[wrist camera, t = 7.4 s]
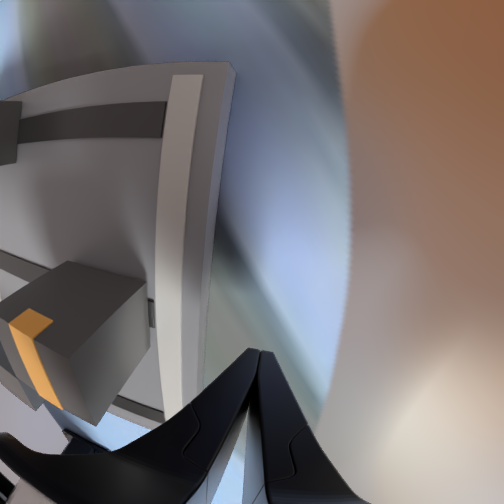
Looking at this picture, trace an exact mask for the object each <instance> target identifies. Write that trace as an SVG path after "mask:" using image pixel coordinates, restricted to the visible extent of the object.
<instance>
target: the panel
mask: <svg viewBox="0 0 504 504" xmlns="http://www.w3.org/2000/svg"><path fill="white" fill-rule="evenodd" d="M235 79H236V71H235V70H234V68H233V67H232V66H231V64H230V63H229V62H215V61H197V62H171V63H157V64H146V65H137V66H129V67H122V68H116V69H110V70H104V71H99V72H94V73H89V74H85V75H80V76H76V77H72V78H68V79H64V80H60V81H57V82H53V83H50V84H47V85H43V86H40V87H37V88H34V89H31V90H28V91H26V92H23V93H20V94H18V95H15V96H12V97H10V98H7V99H5V100H3V101H0V302H1V301H2V300H4V299H5V298H7V297H8V296H10V295H11V294H13V293H14V292H16V291H17V290H19V289H20V288H22V287H24V286H25V285H27V284H28V283H30V282H32V281H33V280H35V279H37V278H38V277H40V276H42V275H43V274H45V273H47V272H48V271H50V270H52V269H53V268H55V267H57V266H59V265H60V264H62V263H64V262H66V261H67V260H68V261H72V262H75V263H79V264H82V265H85V266H89V267H92V268H96V269H100V270H103V271H107V272H111V273H114V274H118V275H122V276H126V277H129V278H133V279H137V280H141V281H145V282H147V299H148V318H149V333H150V345H151V347H150V348H149V350H148V351H147V353H146V354H145V355H144V357H143V358H142V360H141V361H140V363H139V364H138V366H137V367H136V368H135V370H134V371H133V373H132V374H131V376H130V377H129V379H128V380H127V381H126V383H125V384H124V386H123V387H122V389H121V390H120V392H119V393H118V395H117V396H116V398H115V399H114V401H113V402H112V404H111V405H110V407H109V408H108V410H107V412H109V413H111V414H113V415H116V416H118V417H120V418H123V419H125V420H128V421H130V422H132V423H135V424H138V425H140V426H143V427H145V428H148V429H151V430H153V429H155V428H157V427H158V426H160V425H161V424H163V423H164V422H166V421H167V420H169V419H170V418H171V417H173V416H174V415H175V414H176V413H178V412H179V411H180V410H181V409H182V408H184V407H185V406H186V405H187V404H188V403H190V402H191V401H192V400H193V399H194V398H195V397H196V396H197V395H198V394H200V393H201V392H202V391H203V378H204V358H205V342H206V326H207V312H208V299H209V287H210V275H211V264H212V254H213V244H214V234H215V224H216V215H217V206H218V198H219V189H220V181H221V173H222V166H223V158H224V151H225V143H226V136H227V129H228V123H229V116H230V109H231V103H232V97H233V91H234V84H235ZM0 382H1V384H2V385H3V386H4V387H6V388H7V389H8V390H9V391H10V392H11V393H13V394H14V395H15V396H16V397H18V398H19V399H20V400H21V401H23V402H24V403H25V404H27V405H28V406H29V407H30V408H32V409H33V410H35V411H36V410H37V409H38V408H39V407H40V406H41V404H42V403H43V402H44V401H45V400H46V399H44V398H43V397H41V396H40V395H39V394H38V392H37V391H35V390H34V389H32V388H31V387H30V386H28V385H27V384H25V383H24V382H23V381H21V380H20V379H19V378H17V377H16V375H15V373H14V371H13V369H12V366H11V364H10V362H9V360H8V358H7V356H6V353H5V351H4V349H3V346H2V344H1V341H0Z"/></svg>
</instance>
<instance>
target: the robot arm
mask: <svg viewBox="0 0 504 504" xmlns="http://www.w3.org/2000/svg"><path fill="white" fill-rule="evenodd" d="M249 403H250V404H249ZM248 408H249V410H248ZM247 411H248V421H247V437H246V452H245V468H244V483H243V498H242V504H371V503H369V502H366V501H365V500H363V499H362V498H360V497H359V496H358V495H356V494H355V493H354V492H353V491H352V490H351V488H350V487H349V486H348V484H347V483H346V482H345V481H344V479H343V478H342V477H341V475H340V474H339V473H338V471H337V470H336V468H335V467H334V466H333V464H332V463H331V461H330V460H329V459H328V457H327V456H326V454H325V453H324V451H323V450H322V448H321V447H320V445H319V443H318V442H317V440H316V438H315V436H314V434H313V432H312V430H311V428H310V426H309V425H308V422H307V420H306V418H305V416H304V414H303V412H302V410H301V408H300V406H299V404H298V402H297V400H296V398H295V396H294V394H293V392H292V390H291V388H290V386H289V384H288V382H287V380H286V378H285V376H284V374H283V372H282V369H281V367H280V365H279V363H278V361H277V359H276V357H275V355H274V353H273V352H270V351H264V350H262V351H261V352H260V350H258V349H253V348H247V349H246V350H245V351H244V352H243V353H242V354H241V355H240V356H239V357H238V358H237V359H236V360H235V361H234V362H233V363H232V364H231V365H230V366H229V367H228V368H227V369H225V370H224V371H223V372H222V373H221V374H220V375H219V376H218V377H217V378H216V379H215V380H214V381H213V382H212V383H210V384H209V385H208V386H207V387H206V388H205V389H204V390H203V391H202V392H201V393H200V394H198V395H197V396H196V397H195V398H194V399H193V400H192V401H191V402H190V403H188V404H187V405H186V406H185V407H184V408H182V409H181V410H180V411H179V412H178V413H176V414H175V415H174V416H173V417H171V418H170V419H169V420H167V421H166V422H164V423H163V424H161V425H160V426H158V427H157V428H155V429H153V430H152V431H150V432H148V433H147V434H145V435H143V436H142V437H140V438H138V439H136V440H135V441H133V442H131V443H129V444H128V445H126V446H124V447H122V448H120V449H117V450H115V451H111V452H107V451H105V450H103V449H101V448H99V447H97V446H95V445H93V444H91V443H89V442H88V441H86V440H84V439H82V438H80V437H78V436H77V435H75V434H73V433H72V432H70V431H68V430H67V429H65V428H64V429H63V430H62V432H63V433H64V435H65V437H66V438H67V440H68V441H69V443H68V444H67V446H66V447H65V449H64V450H63V452H62V453H61V455H55V454H43V453H39V452H36V451H33V450H31V449H29V448H27V447H26V446H24V445H23V444H22V443H20V442H19V441H18V440H17V439H16V438H15V437H13V436H12V435H10V434H9V433H6V432H3V433H0V459H1V460H2V461H3V462H4V463H5V464H6V465H7V466H8V467H9V468H10V469H11V470H12V471H13V472H14V473H15V474H17V475H18V476H19V477H20V480H19V481H18V483H17V484H16V486H15V485H14V484H13V483H12V482H11V481H10V480H9V479H7V478H6V477H5V476H4V475H3V474H2V473H1V472H0V504H211V502H212V500H213V497H214V495H215V493H216V490H217V488H218V486H219V483H220V481H221V478H222V476H223V474H224V471H225V469H226V466H227V464H228V461H229V459H230V456H231V454H232V451H233V449H234V446H235V444H236V441H237V438H238V436H239V433H240V431H241V428H242V425H243V423H244V420H245V417H246V414H247Z"/></svg>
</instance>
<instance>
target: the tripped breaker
mask: <svg viewBox="0 0 504 504" xmlns="http://www.w3.org/2000/svg"><path fill="white" fill-rule="evenodd" d="M0 341H1V344H2V346H3V349H4V351H5V353H6V356H7V358H8V360H9V362H10V364H11V366H12V369H13V371H14V373H15V375H16V377H17V378H19V379H20V380H21V381H23V382H24V383H25V384H27V385H28V386H30V387H31V388H32V389H34V390H35V391H37V392H38V394H39V395H40V396H41V397H43V398H44V399H46V400H47V401H49V402H50V403H52V404H53V405H55V406H57V407H58V408H60V409H61V410H63V409H65V410H66V411H68V412H70V413H72V414H73V415H75V416H77V417H79V418H80V419H82V420H84V421H86V422H88V423H90V424H92V425H94V426H97V425H98V423H99V422H100V420H101V419H102V417H103V416H104V414H105V413H106V411H107V410H108V408H109V407H110V405H111V404H112V402H113V401H114V399H115V398H116V396H117V395H118V393H119V392H120V390H121V389H122V387H123V386H124V384H125V383H126V381H127V380H128V379H129V377H130V376H131V374H132V373H133V371H134V370H135V368H136V367H137V366H138V364H139V363H140V361H141V360H142V358H143V357H144V355H145V354H146V353H147V351H148V350H149V348H150V347H151V345H150V333H149V318H148V299H147V282H145V281H141V280H137V279H133V278H129V277H126V276H122V275H118V274H114V273H111V272H107V271H103V270H100V269H96V268H92V267H89V266H85V265H82V264H79V263H75V262H72V261H68V260H67V261H66V262H64V263H62V264H60V265H59V266H57V267H55V268H53V269H52V270H50V271H48V272H47V273H45V274H43V275H42V276H40V277H38V278H37V279H35V280H33V281H32V282H30V283H28V284H27V285H25V286H24V287H22V288H20V289H19V290H17V291H16V292H14V293H13V294H11V295H10V296H8V297H7V298H5V299H4V300H2V301H1V302H0Z"/></svg>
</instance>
